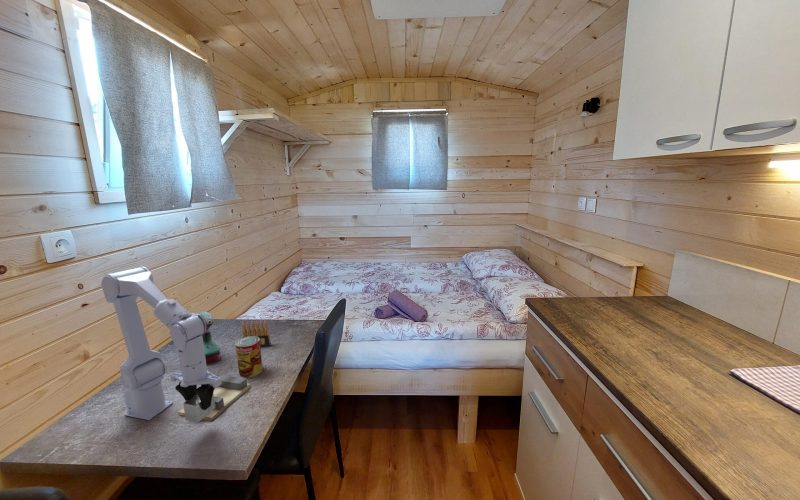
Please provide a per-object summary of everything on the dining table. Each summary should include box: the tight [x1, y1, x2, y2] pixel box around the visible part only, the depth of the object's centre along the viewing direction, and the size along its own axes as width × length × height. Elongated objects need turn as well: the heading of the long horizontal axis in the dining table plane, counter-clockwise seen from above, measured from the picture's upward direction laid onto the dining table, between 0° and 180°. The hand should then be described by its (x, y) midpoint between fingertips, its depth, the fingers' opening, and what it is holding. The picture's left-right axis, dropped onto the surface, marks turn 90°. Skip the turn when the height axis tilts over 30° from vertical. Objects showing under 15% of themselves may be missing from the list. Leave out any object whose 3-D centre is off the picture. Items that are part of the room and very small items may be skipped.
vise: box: [177, 374, 252, 422], centre depth 106 cm, size 12×17×4 cm
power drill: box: [197, 310, 221, 364], centre depth 128 cm, size 7×16×20 cm, turn 41°
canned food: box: [235, 336, 263, 379], centre depth 121 cm, size 8×8×12 cm
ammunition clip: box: [241, 319, 272, 348], centre depth 139 cm, size 11×2×12 cm, turn 98°
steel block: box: [182, 393, 216, 423], centre depth 91 cm, size 4×6×5 cm, turn 166°
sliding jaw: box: [214, 397, 224, 409], centre depth 100 cm, size 11×6×3 cm, turn 76°
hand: (200, 406), depth 91 cm, fingers closed on steel block, 4 cm apart
